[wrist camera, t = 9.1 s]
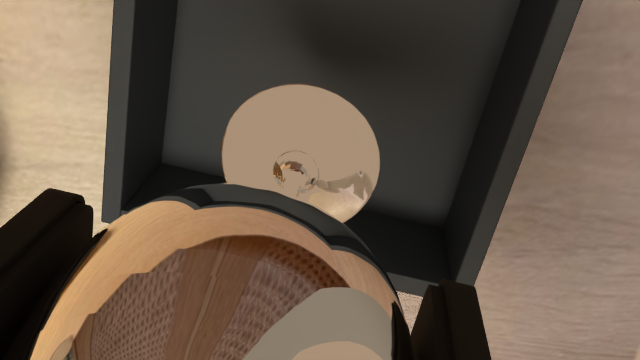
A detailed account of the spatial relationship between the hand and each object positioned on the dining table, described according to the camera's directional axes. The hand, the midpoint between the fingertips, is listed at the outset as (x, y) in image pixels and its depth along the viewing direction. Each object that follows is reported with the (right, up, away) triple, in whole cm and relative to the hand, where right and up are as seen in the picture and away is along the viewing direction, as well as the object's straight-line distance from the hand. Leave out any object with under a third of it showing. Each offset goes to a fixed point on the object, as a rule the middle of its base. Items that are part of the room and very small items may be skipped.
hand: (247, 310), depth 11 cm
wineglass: (+1, +3, +6) cm, 7 cm away
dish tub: (+2, +8, +16) cm, 18 cm away
